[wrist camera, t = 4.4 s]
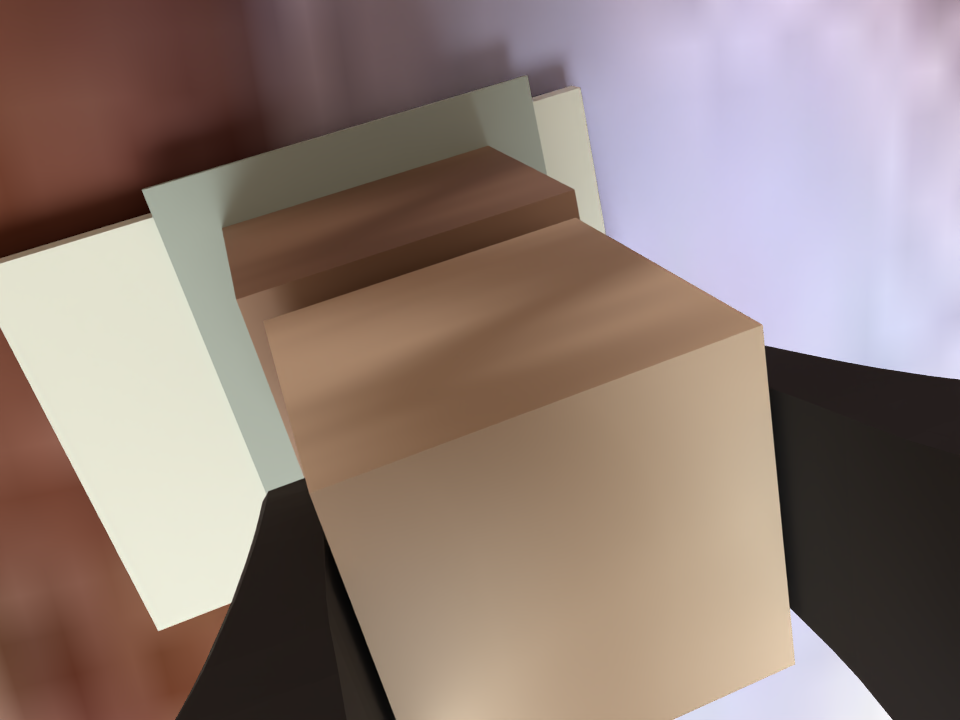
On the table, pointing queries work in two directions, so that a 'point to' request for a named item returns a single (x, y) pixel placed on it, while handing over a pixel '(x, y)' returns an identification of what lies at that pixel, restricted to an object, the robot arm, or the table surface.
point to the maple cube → (545, 481)
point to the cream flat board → (220, 332)
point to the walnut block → (383, 236)
